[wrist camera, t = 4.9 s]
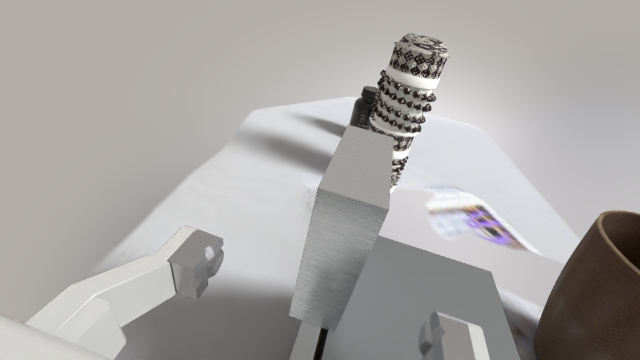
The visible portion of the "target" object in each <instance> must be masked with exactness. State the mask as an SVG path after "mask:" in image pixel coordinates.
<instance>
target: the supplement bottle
mask: <svg viewBox="0 0 640 360" xmlns="http://www.w3.org/2000/svg"><path fill="white" fill-rule="evenodd" d="M379 90H380V89H378V88H375V87H370V86H366V87H364V88H363V92H362V94H361V96H362V97H361V98H358V99H357V100H356V101H355V104H354V108H353V112H352V116H351V120H350V124H349V125H351V126H355V127H358V128H362V129H365V130H369V127H370V124H371V122H370V119H369V118H370V115H371V113H372V112H373V107H372V104H373V103H374V101H375V100H376V99H375V97H374V96H375V94H376V92H377V91H379ZM379 98H380V97H379ZM376 106H377V105H376Z"/></svg>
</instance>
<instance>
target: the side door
mask: <svg viewBox="0 0 640 360" xmlns="http://www.w3.org/2000/svg"><path fill="white" fill-rule="evenodd" d="M393 144H394V137H390V136H386V135H383V134H379V133H376V132H372V131H369V130H365V129H362V128H358V127H355V126H351V125H348V126H347V128H346V130H345V132H344V134H343V136H342V138H341V140H340V142H339V145H338V147H337V149H336V151H335V153H334V155H333V157H332V159H331V161H330V163H329V166H328V168H327V170H326V172H325V174H324V176H323V178H322V180H321V182H320V184H319V186H318V190H317V194H316V198H315V203H314V207H313V211H312V216H311V220H310V224H309V229H308V233H307V237H306V242H305V246H304V251H303V255H302V259H301V264H300V268H299V272H298V277H297V281H296V285H295V290H294V294H293V298H292V303H291V307H290V311H289V316H292V317H294V318H297V319H300V320H302V322H301V325H300V328H299V331H298V334H297V337H296V340H295V343H294V346H293V349H292V352H291V355H290V358H289V360H313V357H314V354H315V350H316V346H317V342H318V338H319V334H320V330H321V328H324V329H327V330H330V331H332V332H335V331H336V329H337V327H338V324H339V322H340V320H341V317H342V315H343V313H344V311H345V308H346V306H347V304H348V302H349V299H350V297H351V295H352V292H353V290H354V288H355V286H356V283H357V281H358V279H359V277H360V274H361V272H362V270H363V267H364V265H365V263H366V261H367V258H368V256H369V254H370V252H371V249H372V247H373V245H374V242H375V240H376V238H377V236H378V233H379V231H380V228H381V226H382V224H383V222H384V220H385V217H386V215H387V213H388V211H389V200H390V187H391V173H392V159H393Z"/></svg>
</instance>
